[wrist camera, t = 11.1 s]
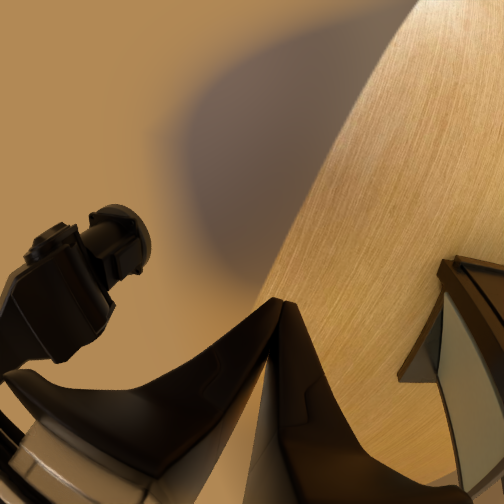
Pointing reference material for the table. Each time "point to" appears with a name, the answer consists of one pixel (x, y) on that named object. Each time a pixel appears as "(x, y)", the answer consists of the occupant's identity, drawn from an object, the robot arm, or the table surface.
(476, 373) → the shower door
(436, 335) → the shower stall
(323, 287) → the table surface
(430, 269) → the table surface
